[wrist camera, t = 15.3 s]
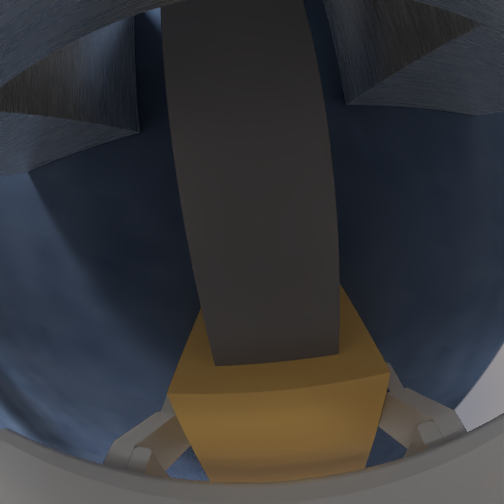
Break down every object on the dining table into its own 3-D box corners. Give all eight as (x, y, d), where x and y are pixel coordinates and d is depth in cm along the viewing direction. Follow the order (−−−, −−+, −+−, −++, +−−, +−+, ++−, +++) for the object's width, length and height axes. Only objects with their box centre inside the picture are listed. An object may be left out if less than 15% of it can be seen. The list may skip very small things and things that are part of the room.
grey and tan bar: (165, -58, 6) (129, -122, 1) (279, -75, 6) (283, -146, 1) (227, 394, 12) (213, 487, 7) (337, 384, 12) (362, 474, 7)
